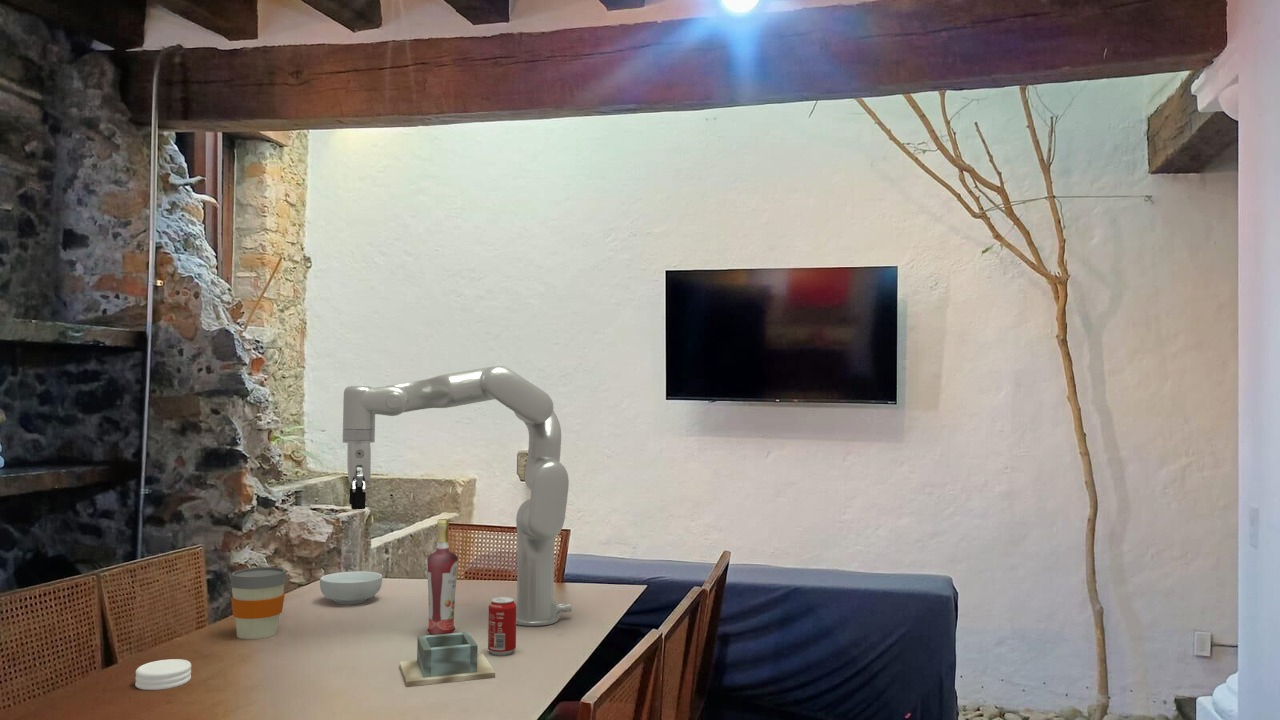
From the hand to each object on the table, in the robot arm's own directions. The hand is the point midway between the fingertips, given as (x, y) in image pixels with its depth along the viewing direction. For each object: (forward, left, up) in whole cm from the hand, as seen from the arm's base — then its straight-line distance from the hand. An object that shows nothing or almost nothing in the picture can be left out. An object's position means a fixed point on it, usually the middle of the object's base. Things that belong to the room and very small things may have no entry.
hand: (357, 506), depth 215 cm
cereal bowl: (-1, -37, -32) cm, 49 cm away
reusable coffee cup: (+22, -9, -31) cm, 39 cm away
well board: (-17, +35, -31) cm, 50 cm away
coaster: (+38, +23, -32) cm, 55 cm away
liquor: (-20, +6, -31) cm, 38 cm away
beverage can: (-31, +25, -31) cm, 51 cm away
